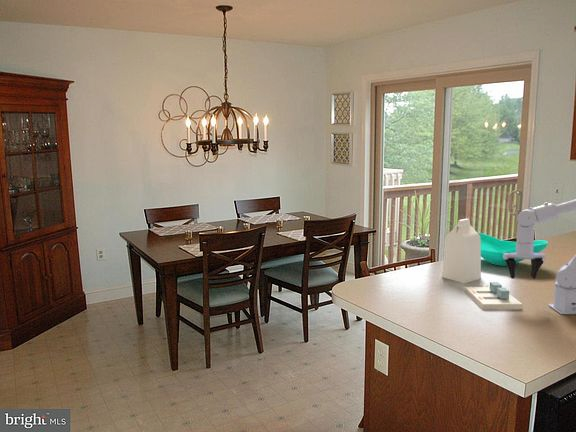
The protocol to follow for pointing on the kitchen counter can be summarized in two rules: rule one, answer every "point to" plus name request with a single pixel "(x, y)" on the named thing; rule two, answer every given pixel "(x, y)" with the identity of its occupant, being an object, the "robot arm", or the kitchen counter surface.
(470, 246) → the milk
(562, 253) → the kitchen counter surface
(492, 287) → the tab
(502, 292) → the tab
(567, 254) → the kitchen counter surface
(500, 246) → the table top decor
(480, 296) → the switch panel
